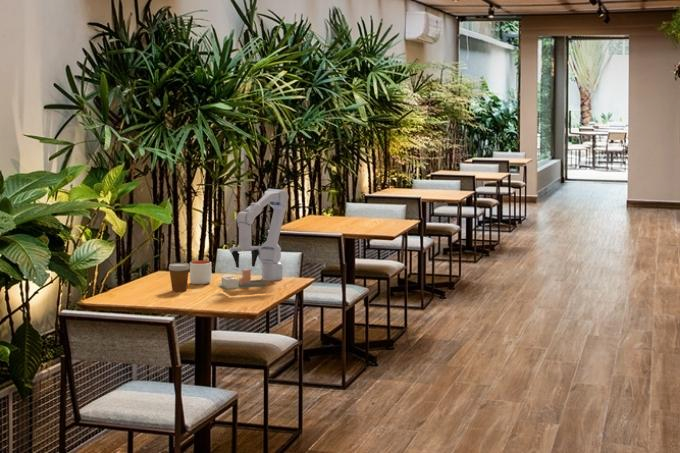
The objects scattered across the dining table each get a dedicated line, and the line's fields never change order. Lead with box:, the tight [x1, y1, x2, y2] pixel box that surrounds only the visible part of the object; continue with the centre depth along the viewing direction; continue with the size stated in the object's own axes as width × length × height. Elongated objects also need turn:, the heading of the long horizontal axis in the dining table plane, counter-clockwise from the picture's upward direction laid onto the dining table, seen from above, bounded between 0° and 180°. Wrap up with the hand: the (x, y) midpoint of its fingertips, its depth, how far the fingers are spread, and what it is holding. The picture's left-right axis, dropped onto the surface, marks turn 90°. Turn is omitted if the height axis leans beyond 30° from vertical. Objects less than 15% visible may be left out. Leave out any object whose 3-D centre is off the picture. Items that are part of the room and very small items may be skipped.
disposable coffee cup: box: [168, 262, 190, 293], centre depth 457 cm, size 10×10×12 cm
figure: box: [238, 268, 252, 286], centre depth 466 cm, size 4×5×7 cm
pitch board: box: [217, 275, 269, 290], centre depth 468 cm, size 21×14×5 cm, turn 113°
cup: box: [189, 260, 212, 285], centre depth 476 cm, size 10×10×10 cm
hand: (245, 266), depth 467 cm, fingers open, 7 cm apart
